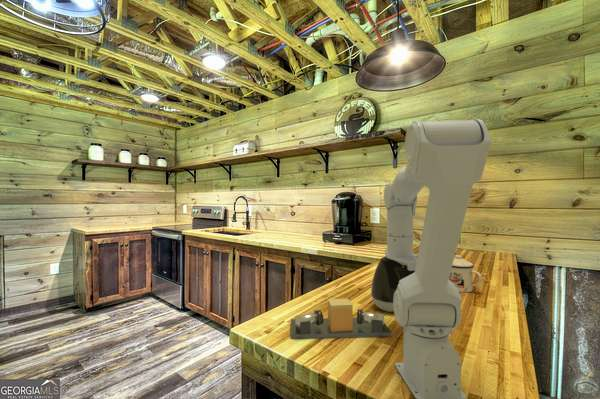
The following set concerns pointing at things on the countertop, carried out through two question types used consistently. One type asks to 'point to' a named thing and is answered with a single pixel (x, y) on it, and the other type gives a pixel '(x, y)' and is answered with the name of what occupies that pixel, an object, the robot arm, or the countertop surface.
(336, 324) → the block
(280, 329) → the countertop surface
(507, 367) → the countertop surface
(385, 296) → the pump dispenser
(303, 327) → the shaft
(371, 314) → the shaft
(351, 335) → the base plate
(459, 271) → the teacup with lid
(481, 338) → the countertop surface
